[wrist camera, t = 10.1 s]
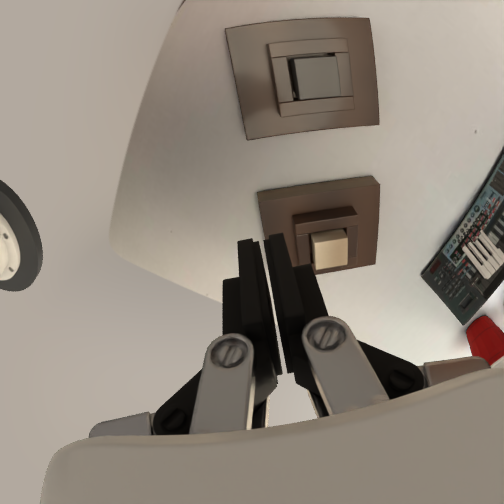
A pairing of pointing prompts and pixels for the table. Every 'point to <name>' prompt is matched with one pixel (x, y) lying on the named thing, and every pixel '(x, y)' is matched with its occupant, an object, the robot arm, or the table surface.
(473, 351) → the plastic cup
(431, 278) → the synthesizer keyboard
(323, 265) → the key ivory
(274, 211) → the key block
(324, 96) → the key ebony
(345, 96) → the key block
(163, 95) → the table surface
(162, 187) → the table surface
